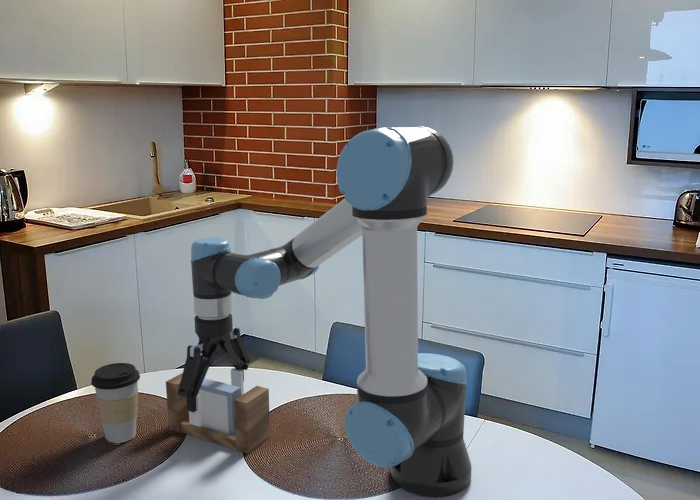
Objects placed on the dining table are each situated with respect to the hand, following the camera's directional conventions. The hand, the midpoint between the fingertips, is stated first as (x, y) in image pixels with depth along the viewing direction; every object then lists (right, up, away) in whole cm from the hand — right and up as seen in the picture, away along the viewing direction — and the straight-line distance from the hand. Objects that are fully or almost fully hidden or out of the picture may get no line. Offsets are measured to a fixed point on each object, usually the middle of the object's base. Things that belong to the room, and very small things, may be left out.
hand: (217, 410), depth 136 cm
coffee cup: (-20, -6, 0) cm, 21 cm away
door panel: (0, -5, +1) cm, 5 cm away
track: (0, -5, +1) cm, 5 cm away
